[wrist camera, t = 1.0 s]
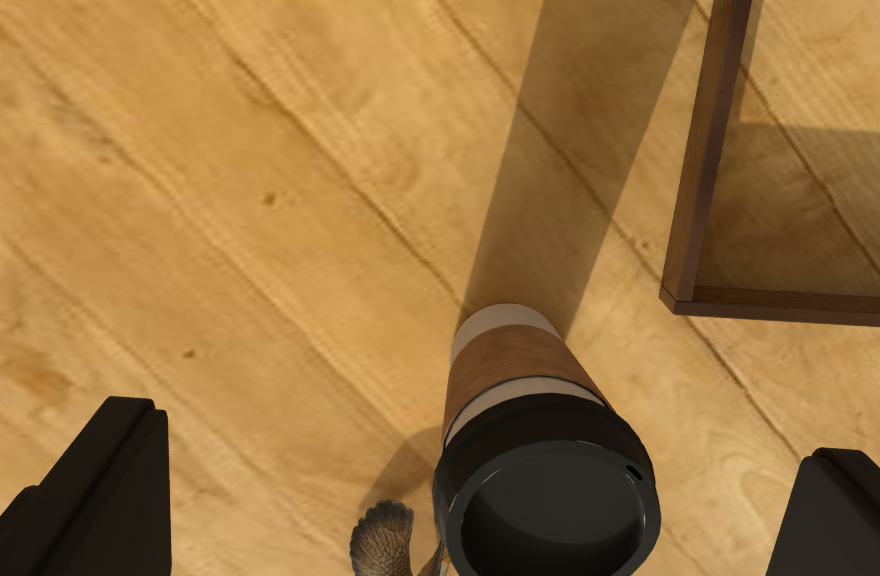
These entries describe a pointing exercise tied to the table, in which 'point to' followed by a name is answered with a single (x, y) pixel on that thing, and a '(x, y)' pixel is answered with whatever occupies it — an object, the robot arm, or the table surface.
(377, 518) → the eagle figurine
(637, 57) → the table surface
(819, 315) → the walnut bay
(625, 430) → the coffee cup
